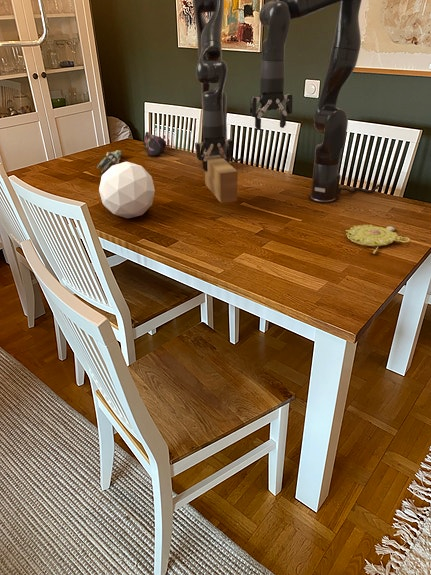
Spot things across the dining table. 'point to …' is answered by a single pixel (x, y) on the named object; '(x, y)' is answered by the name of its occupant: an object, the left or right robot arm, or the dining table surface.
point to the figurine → (110, 160)
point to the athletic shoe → (154, 144)
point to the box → (221, 179)
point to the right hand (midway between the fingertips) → (270, 128)
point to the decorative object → (374, 235)
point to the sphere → (127, 190)
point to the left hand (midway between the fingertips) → (214, 169)
